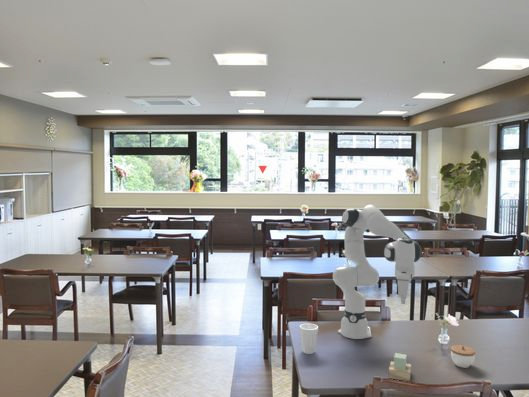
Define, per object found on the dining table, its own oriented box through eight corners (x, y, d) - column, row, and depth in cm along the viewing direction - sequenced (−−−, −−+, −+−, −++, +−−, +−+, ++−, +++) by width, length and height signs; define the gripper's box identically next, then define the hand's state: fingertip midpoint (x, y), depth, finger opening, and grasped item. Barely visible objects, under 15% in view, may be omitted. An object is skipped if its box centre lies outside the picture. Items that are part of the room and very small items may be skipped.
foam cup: (316, 356, 217) (317, 330, 217) (298, 354, 219) (298, 329, 219) (318, 348, 227) (318, 324, 226) (300, 346, 229) (301, 322, 228)
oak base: (390, 369, 203) (390, 361, 203) (410, 372, 200) (411, 364, 200) (388, 377, 195) (388, 369, 195) (409, 381, 192) (410, 372, 191)
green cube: (394, 363, 201) (395, 352, 200) (406, 365, 199) (406, 354, 198) (393, 367, 196) (394, 357, 196) (405, 369, 194) (405, 359, 194)
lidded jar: (473, 372, 201) (474, 352, 201) (448, 366, 207) (449, 347, 207) (475, 363, 211) (476, 344, 210) (452, 358, 216) (452, 340, 216)
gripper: (399, 267, 217) (398, 294, 218) (395, 276, 198) (395, 306, 199) (412, 268, 214) (411, 296, 215) (410, 277, 195) (409, 307, 196)
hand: (403, 301), depth 207 cm, fingers open, 8 cm apart
